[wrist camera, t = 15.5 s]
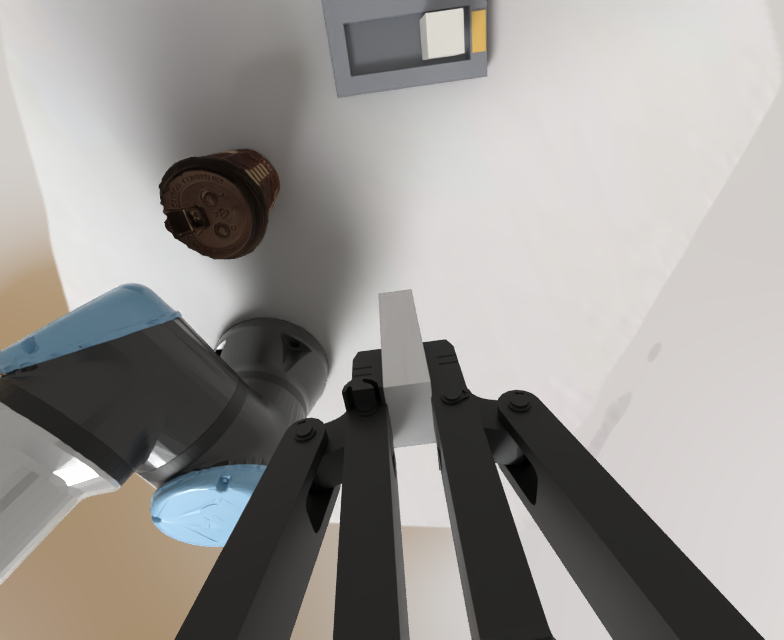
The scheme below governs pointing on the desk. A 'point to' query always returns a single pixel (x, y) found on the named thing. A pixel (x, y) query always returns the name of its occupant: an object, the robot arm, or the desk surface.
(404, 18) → the switch board
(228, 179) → the coffee cup
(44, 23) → the desk surface
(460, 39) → the tab
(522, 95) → the desk surface
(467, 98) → the desk surface
